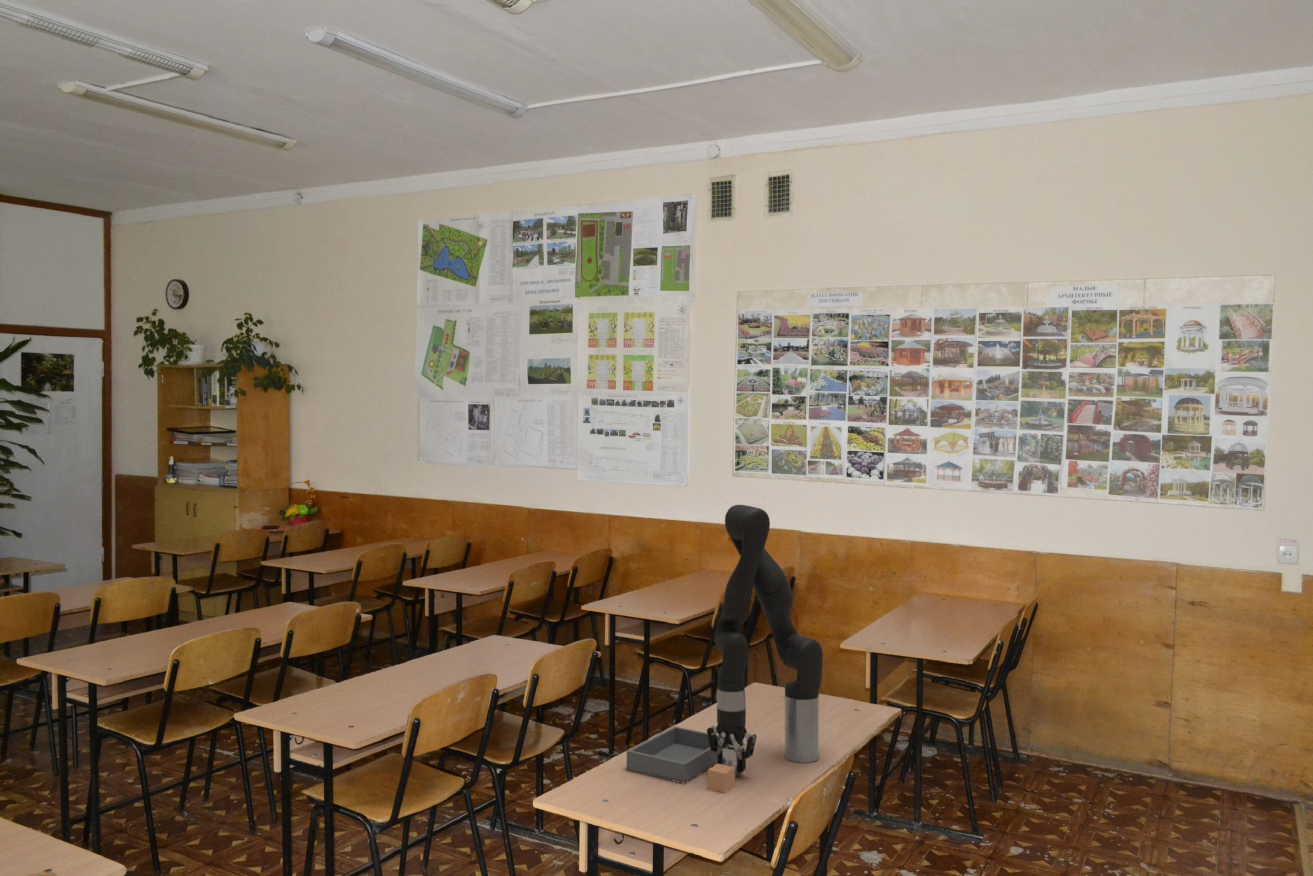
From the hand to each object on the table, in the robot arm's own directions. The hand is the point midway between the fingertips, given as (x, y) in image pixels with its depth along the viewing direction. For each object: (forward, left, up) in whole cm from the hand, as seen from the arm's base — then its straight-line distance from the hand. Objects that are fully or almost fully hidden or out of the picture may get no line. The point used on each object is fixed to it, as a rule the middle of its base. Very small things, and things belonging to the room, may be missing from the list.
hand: (731, 769), depth 248 cm
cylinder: (0, 0, -1) cm, 1 cm away
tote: (0, -16, -1) cm, 16 cm away
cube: (+9, +2, -1) cm, 10 cm away
